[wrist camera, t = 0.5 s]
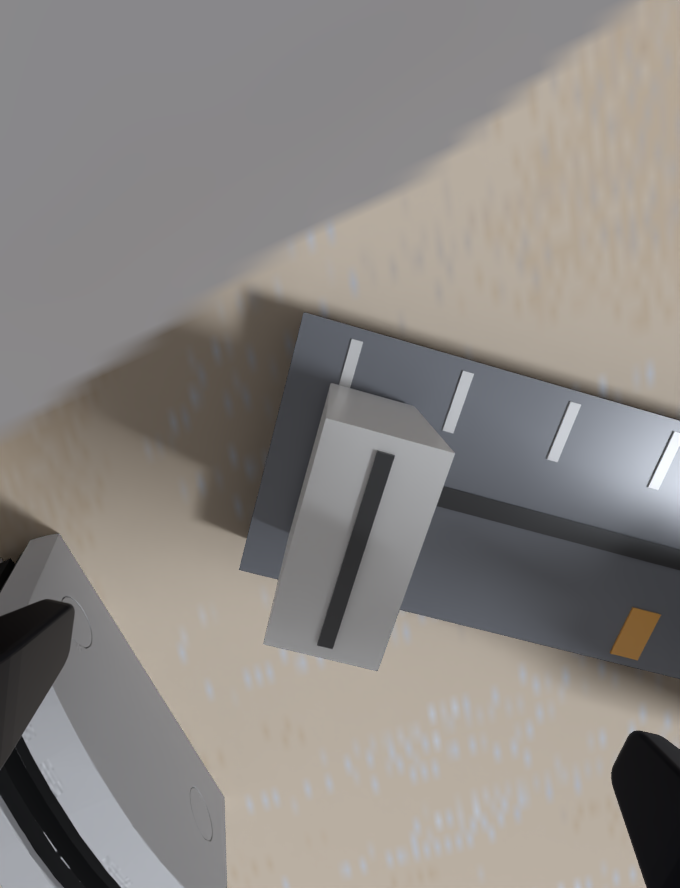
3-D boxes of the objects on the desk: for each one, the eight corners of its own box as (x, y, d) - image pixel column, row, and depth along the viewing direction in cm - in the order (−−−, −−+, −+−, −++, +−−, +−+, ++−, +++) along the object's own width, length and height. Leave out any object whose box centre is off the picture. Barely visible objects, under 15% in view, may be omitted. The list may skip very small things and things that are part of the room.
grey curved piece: (-41, 568, 21) (-223, 714, 12) (65, 518, 22) (-23, 614, 13) (141, 830, 25) (115, 1097, 16) (224, 776, 26) (246, 995, 17)
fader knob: (414, 405, 16) (456, 454, 10) (365, 556, 18) (377, 674, 12) (330, 382, 16) (325, 419, 10) (288, 537, 18) (262, 647, 12)
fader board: (772, 447, 20) (835, 465, 17) (667, 645, 22) (708, 686, 20) (308, 313, 18) (303, 312, 16) (250, 540, 21) (238, 570, 18)
